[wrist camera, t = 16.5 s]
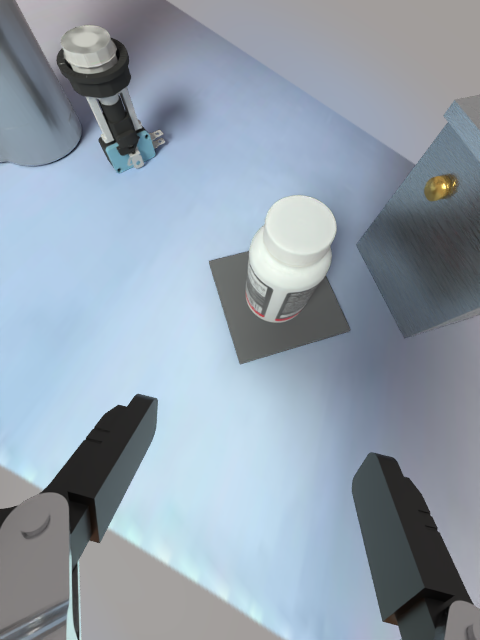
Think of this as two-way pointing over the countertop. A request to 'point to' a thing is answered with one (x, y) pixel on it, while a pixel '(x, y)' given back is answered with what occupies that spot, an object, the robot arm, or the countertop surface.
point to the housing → (433, 231)
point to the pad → (270, 337)
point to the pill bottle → (289, 257)
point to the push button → (107, 94)
